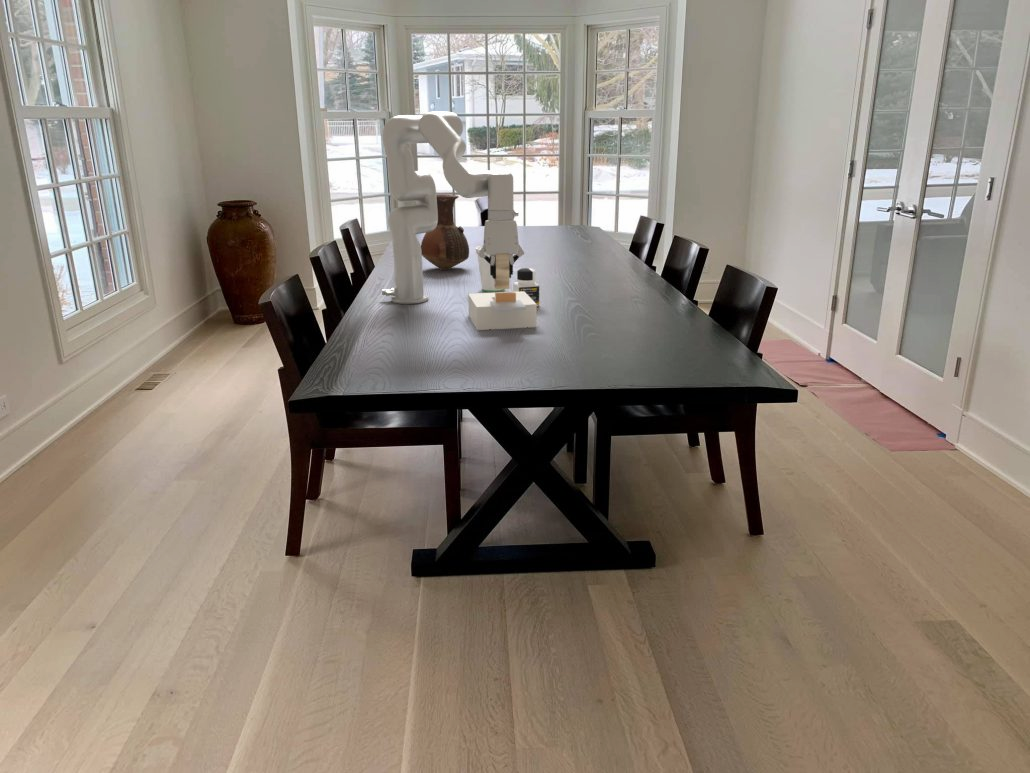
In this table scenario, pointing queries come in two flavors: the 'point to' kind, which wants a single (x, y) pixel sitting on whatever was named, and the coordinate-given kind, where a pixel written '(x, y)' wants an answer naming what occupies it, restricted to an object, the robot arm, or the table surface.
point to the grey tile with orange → (507, 302)
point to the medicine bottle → (527, 284)
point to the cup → (486, 273)
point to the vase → (445, 238)
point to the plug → (502, 271)
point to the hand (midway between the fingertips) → (501, 276)
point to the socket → (501, 312)
